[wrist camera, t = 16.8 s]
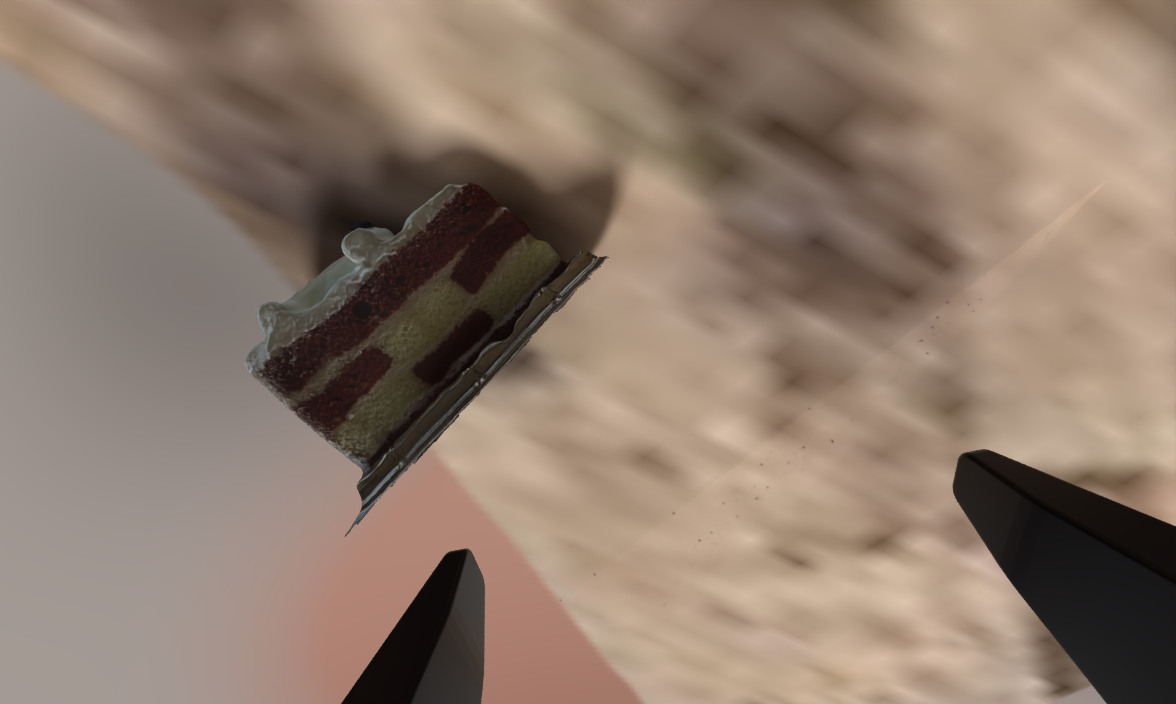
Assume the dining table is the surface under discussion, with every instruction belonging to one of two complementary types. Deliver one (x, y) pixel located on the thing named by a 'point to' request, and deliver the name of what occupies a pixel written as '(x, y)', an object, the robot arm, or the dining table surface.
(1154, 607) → the robot arm
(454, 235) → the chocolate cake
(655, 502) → the dining table surface
